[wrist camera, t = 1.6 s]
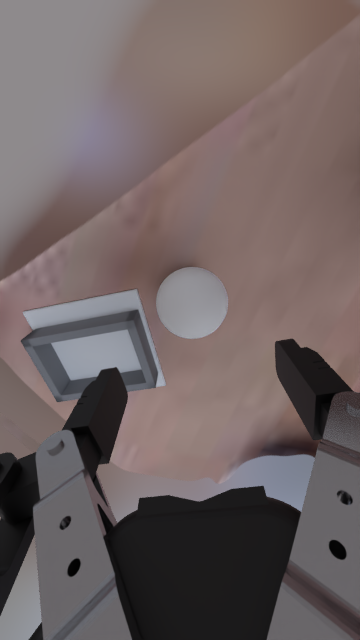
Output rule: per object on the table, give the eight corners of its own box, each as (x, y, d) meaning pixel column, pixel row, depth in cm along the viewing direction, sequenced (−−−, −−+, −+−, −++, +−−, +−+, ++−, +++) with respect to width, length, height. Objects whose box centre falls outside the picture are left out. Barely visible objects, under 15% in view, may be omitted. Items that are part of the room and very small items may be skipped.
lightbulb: (226, 282, 27) (250, 325, 17) (185, 311, 29) (184, 365, 19) (195, 239, 25) (202, 259, 15) (153, 273, 26) (134, 311, 17)
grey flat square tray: (137, 288, 27) (130, 298, 24) (166, 383, 34) (164, 401, 31) (24, 310, 29) (5, 323, 26) (72, 397, 35) (61, 415, 32)
